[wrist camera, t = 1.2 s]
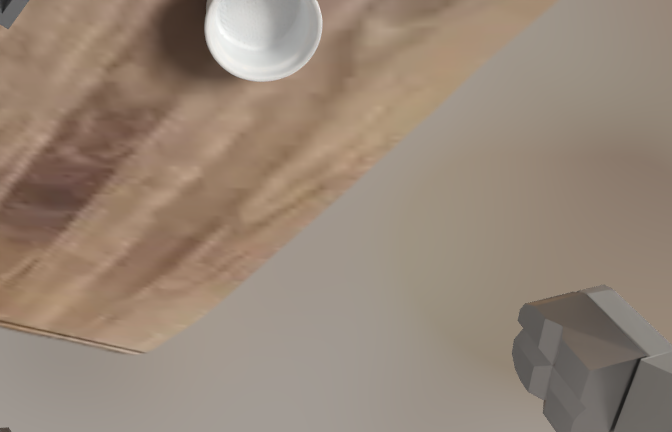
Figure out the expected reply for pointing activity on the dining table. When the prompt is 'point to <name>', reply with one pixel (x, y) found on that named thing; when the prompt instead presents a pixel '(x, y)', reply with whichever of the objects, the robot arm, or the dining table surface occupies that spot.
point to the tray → (10, 11)
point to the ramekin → (262, 36)
